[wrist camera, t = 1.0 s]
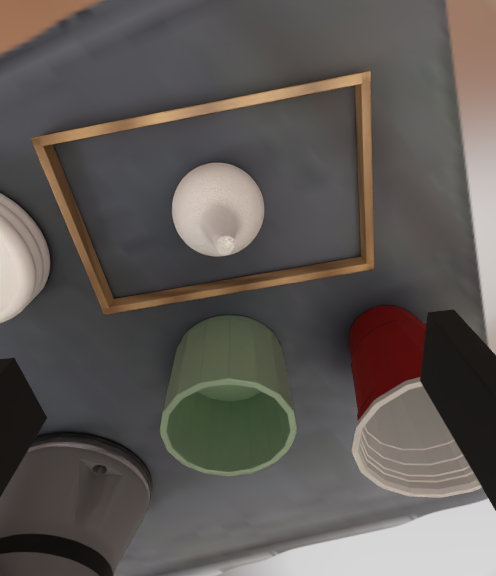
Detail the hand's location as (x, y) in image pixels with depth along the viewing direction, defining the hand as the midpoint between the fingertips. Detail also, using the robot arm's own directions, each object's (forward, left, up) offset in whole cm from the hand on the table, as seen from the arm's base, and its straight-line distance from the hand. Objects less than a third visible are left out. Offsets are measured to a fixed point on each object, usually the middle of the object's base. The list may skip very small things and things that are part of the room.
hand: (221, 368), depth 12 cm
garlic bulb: (-1, +1, -17) cm, 17 cm away
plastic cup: (+11, -13, -17) cm, 24 cm away
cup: (-3, -13, -17) cm, 22 cm away
